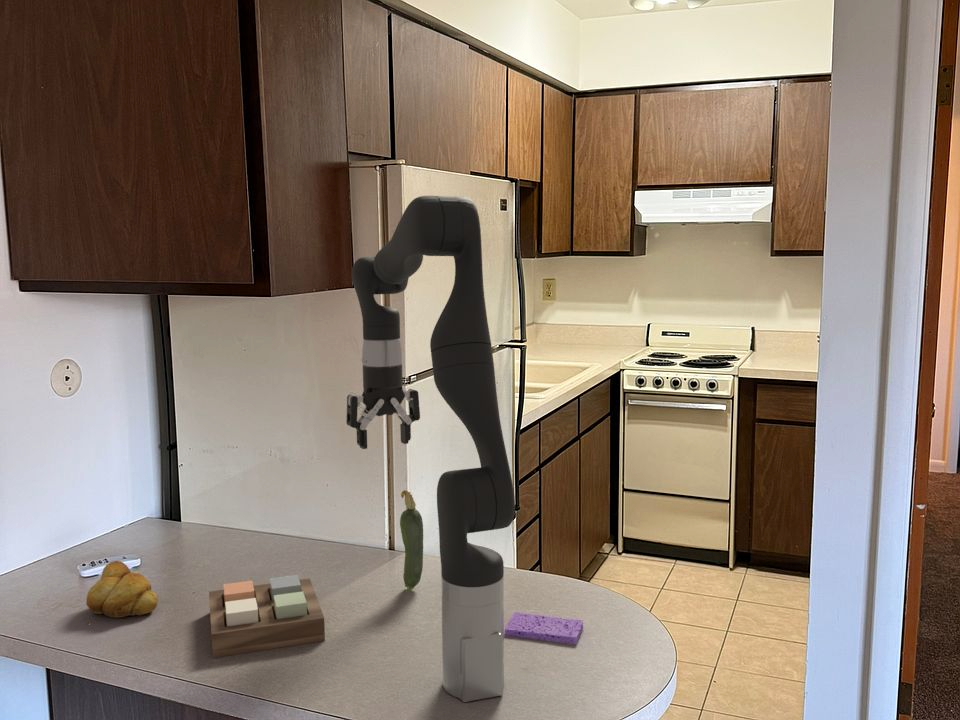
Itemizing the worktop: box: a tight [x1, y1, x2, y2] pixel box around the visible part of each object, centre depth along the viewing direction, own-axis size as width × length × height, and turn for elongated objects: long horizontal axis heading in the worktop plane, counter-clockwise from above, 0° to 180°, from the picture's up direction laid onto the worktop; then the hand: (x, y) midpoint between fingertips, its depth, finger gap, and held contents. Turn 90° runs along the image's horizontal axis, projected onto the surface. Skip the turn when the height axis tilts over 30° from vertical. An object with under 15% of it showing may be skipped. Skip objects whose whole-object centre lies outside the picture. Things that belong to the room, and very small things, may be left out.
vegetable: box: [399, 489, 424, 591], centre depth 162 cm, size 4×4×20 cm
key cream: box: [225, 598, 258, 626], centre depth 143 cm, size 5×5×3 cm
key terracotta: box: [222, 580, 255, 603], centre depth 150 cm, size 5×5×3 cm
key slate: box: [269, 574, 301, 601], centre depth 153 cm, size 5×5×3 cm
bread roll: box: [85, 560, 159, 618], centre depth 155 cm, size 13×10×8 cm
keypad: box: [208, 578, 326, 659], centre depth 148 cm, size 18×18×4 cm
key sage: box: [274, 591, 307, 619], centre depth 145 cm, size 5×5×3 cm
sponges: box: [504, 611, 584, 645], centre depth 146 cm, size 7×13×2 cm, turn 73°
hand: (384, 445), depth 164 cm, fingers open, 8 cm apart
